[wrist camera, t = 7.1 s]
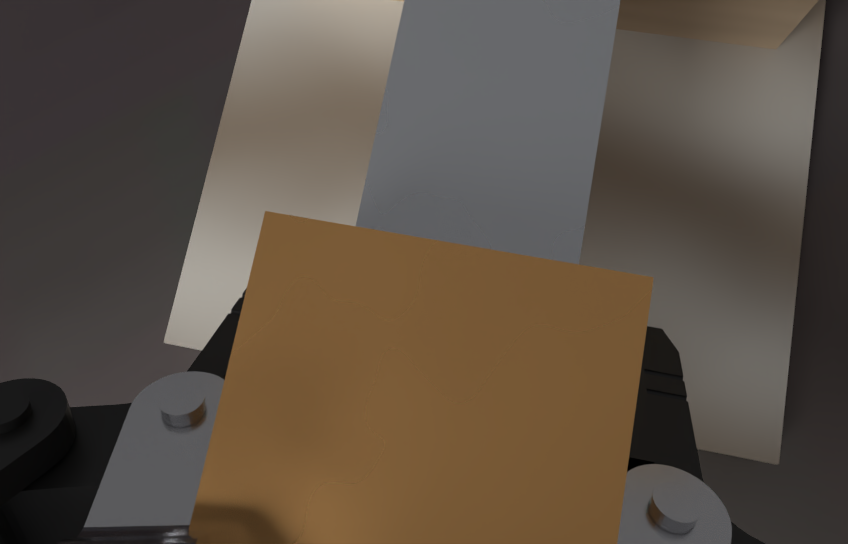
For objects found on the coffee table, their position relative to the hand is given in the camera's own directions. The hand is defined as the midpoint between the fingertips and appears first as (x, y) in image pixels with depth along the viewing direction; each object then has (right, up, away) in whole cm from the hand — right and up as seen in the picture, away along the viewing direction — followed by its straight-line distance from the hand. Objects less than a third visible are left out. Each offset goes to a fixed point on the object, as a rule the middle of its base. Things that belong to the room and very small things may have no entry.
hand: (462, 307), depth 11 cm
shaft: (+2, +7, +4) cm, 8 cm away
